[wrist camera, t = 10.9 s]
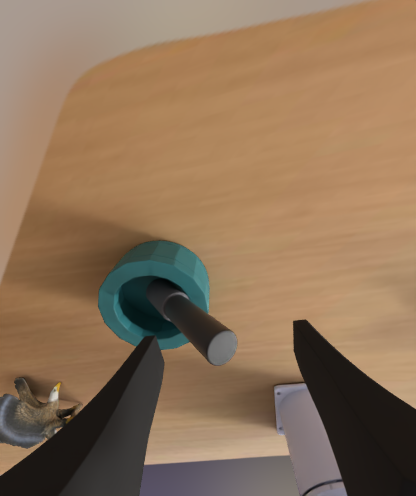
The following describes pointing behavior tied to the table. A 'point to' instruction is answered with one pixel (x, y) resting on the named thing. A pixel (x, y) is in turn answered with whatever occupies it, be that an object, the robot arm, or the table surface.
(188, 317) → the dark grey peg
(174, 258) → the teal hollow cylinder
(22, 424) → the eagle figurine
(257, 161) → the table surface
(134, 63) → the table surface
